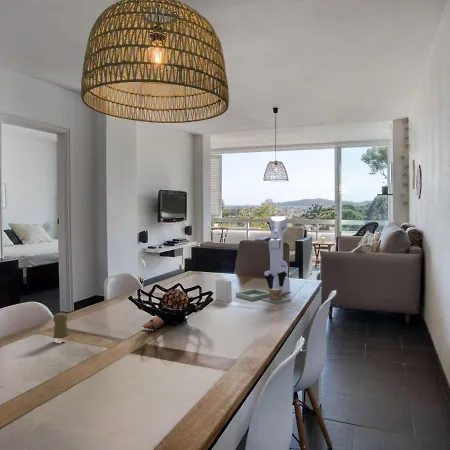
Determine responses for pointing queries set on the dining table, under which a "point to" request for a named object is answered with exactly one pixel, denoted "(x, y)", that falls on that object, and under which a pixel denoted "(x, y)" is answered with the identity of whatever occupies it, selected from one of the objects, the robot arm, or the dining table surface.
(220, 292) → the white rounded block
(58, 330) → the cork
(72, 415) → the dining table surface
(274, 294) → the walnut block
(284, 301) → the slate mat
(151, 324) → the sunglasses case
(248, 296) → the bin
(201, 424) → the dining table surface
